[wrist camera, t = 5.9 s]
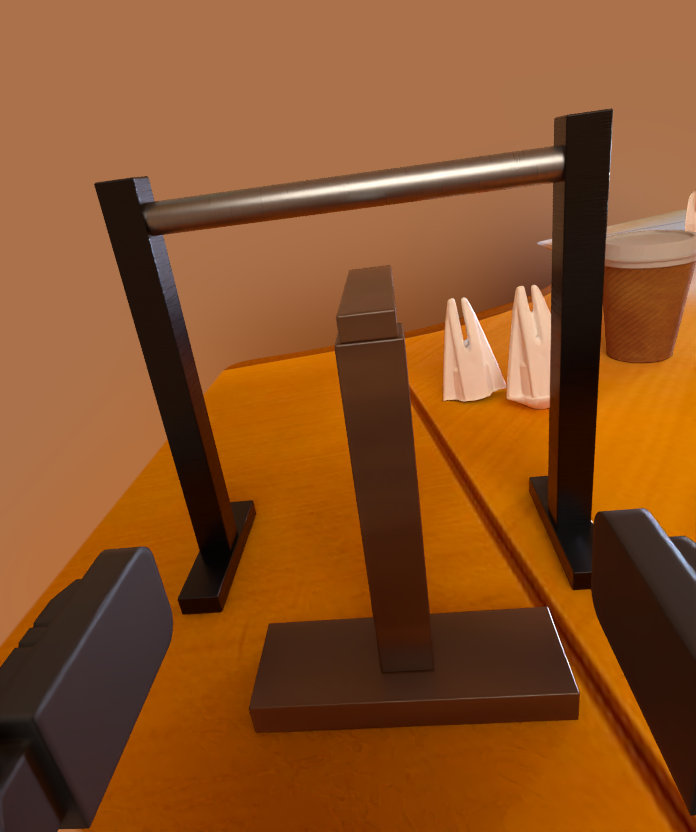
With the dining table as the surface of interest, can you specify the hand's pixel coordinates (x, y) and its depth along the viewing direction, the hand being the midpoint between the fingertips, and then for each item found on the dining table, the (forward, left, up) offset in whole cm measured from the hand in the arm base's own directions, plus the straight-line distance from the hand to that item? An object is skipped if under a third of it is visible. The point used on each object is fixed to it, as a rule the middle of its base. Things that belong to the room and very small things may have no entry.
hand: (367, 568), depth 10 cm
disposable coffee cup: (+53, +23, -16) cm, 60 cm away
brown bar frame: (+9, +11, -16) cm, 21 cm away
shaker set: (+35, +26, -16) cm, 46 cm away
